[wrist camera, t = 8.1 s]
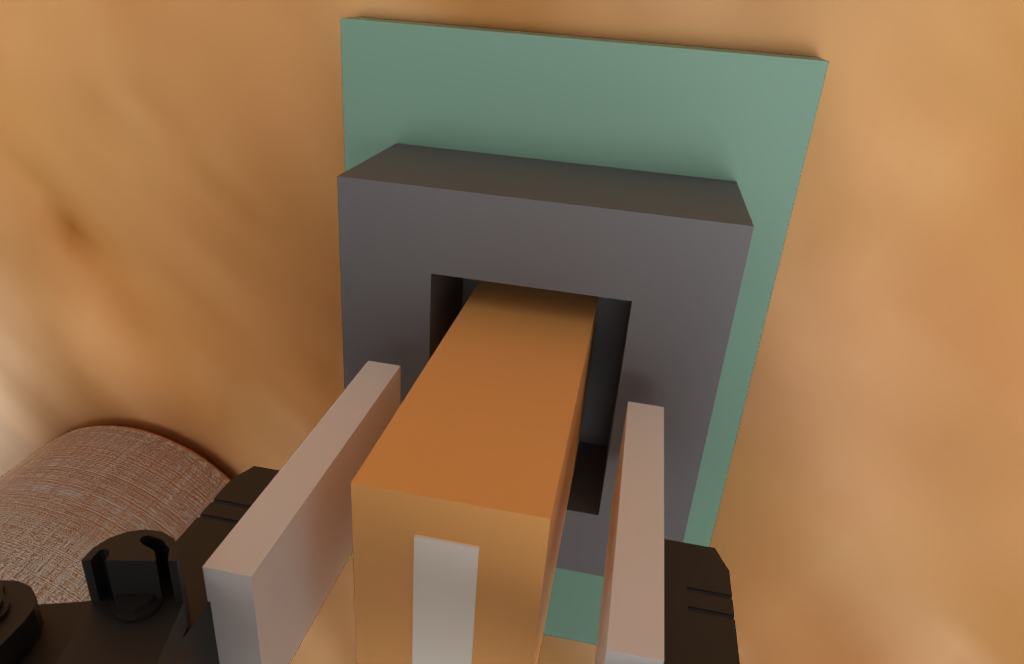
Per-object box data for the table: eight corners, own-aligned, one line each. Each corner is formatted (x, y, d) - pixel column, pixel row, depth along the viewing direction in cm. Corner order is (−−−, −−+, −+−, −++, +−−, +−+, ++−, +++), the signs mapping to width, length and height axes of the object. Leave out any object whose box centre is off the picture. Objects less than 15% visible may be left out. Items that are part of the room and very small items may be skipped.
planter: (32, 379, 27) (-254, 553, 19) (299, 469, 27) (130, 692, 18) (44, 580, 32) (-178, 790, 24) (271, 660, 32) (126, 906, 23)
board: (680, 635, 27) (683, 771, 22) (369, 573, 28) (311, 687, 24) (818, 57, 18) (873, 79, 13) (358, 16, 20) (263, 23, 15)
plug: (583, 418, 21) (525, 730, 12) (483, 402, 22) (356, 692, 13) (602, 275, 19) (550, 521, 10) (492, 261, 20) (349, 485, 11)
